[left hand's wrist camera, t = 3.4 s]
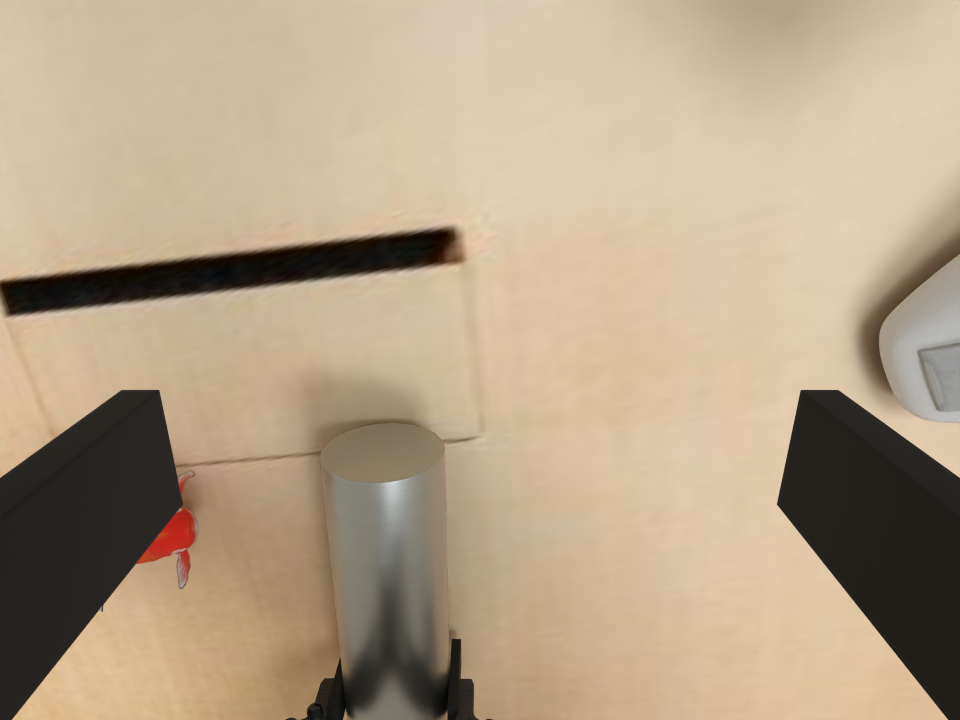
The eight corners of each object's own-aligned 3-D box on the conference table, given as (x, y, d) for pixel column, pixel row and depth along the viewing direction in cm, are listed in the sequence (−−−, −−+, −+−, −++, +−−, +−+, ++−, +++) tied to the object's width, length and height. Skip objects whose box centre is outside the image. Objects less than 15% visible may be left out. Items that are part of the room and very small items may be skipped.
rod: (336, 422, 44) (304, 482, 36) (448, 422, 44) (440, 483, 36) (359, 676, 52) (337, 769, 45) (453, 677, 52) (447, 770, 45)
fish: (236, 620, 45) (106, 684, 36) (103, 567, 52) (-36, 610, 43) (249, 480, 45) (122, 509, 36) (113, 444, 51) (-24, 461, 42)
